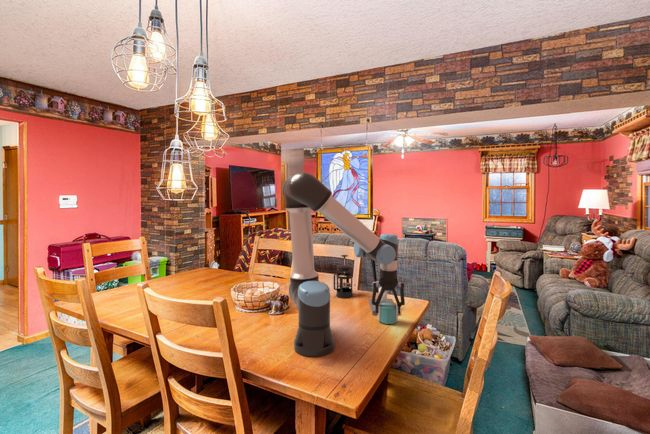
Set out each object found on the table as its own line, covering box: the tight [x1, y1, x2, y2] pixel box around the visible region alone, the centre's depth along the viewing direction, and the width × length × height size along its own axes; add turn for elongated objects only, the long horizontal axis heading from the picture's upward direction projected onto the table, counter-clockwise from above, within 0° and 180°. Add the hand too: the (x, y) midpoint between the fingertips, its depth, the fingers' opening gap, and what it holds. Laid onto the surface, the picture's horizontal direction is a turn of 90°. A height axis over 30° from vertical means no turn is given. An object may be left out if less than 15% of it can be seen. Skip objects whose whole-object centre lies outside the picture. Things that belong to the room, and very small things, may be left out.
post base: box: [368, 286, 396, 316], centre depth 162 cm, size 18×12×11 cm, turn 178°
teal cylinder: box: [379, 303, 397, 325], centre depth 145 cm, size 7×7×7 cm
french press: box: [333, 254, 354, 299], centre depth 182 cm, size 12×9×23 cm
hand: (387, 320), depth 145 cm, fingers closed on teal cylinder, 7 cm apart
